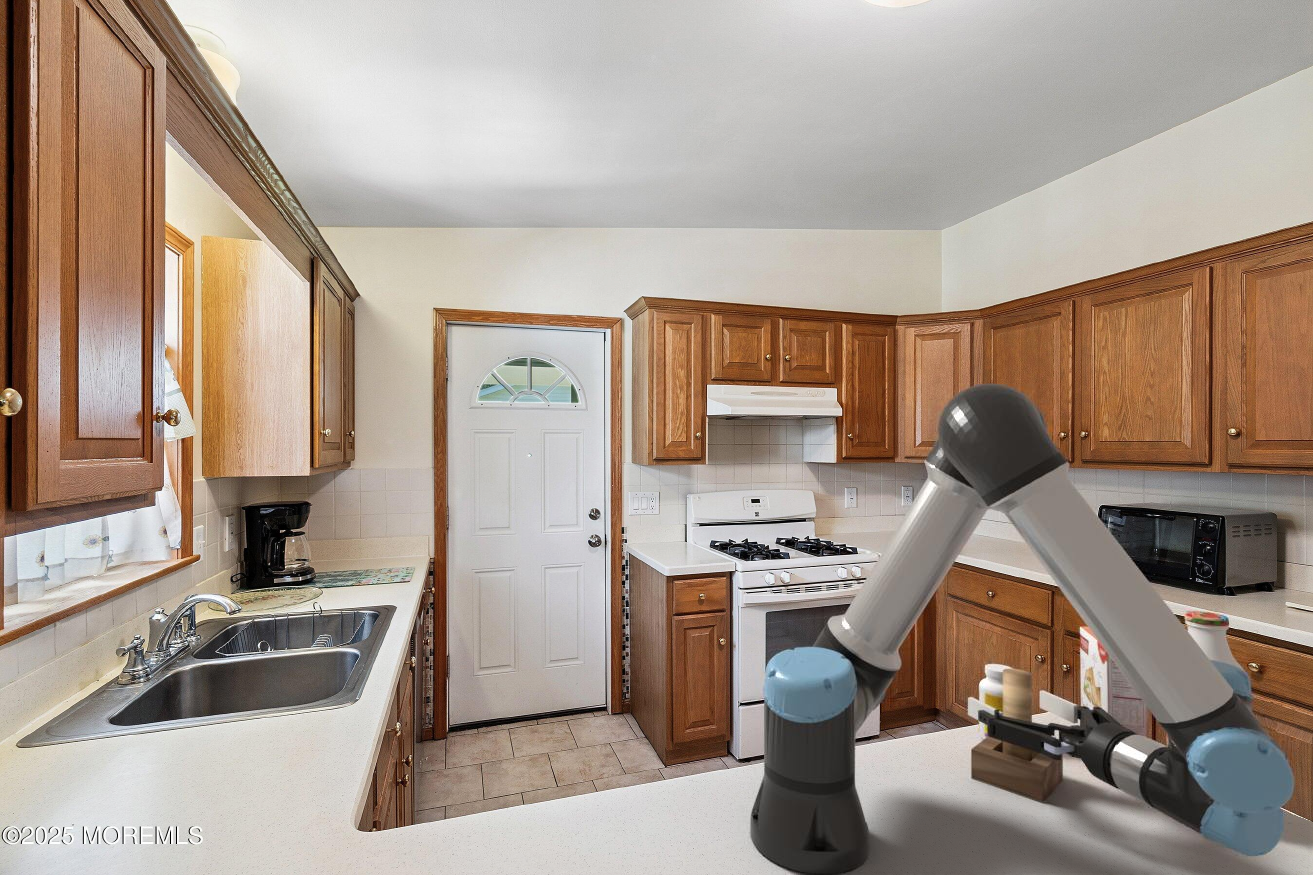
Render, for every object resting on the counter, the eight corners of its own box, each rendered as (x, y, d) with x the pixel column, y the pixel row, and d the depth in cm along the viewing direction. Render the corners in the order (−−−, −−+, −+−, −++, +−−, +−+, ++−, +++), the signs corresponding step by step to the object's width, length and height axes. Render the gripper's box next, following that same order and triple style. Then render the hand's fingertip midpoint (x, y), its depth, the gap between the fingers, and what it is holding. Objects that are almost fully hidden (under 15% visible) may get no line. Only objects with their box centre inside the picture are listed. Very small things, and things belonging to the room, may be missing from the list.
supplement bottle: (1028, 749, 115) (1028, 674, 115) (989, 748, 115) (989, 673, 115) (1009, 733, 122) (1009, 662, 122) (972, 732, 122) (972, 661, 122)
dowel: (1027, 784, 101) (1027, 678, 102) (999, 775, 104) (999, 672, 105) (1035, 776, 104) (1035, 672, 105) (1007, 767, 107) (1007, 666, 107)
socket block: (1042, 802, 97) (1042, 771, 97) (971, 778, 104) (971, 748, 104) (1062, 779, 104) (1062, 750, 104) (994, 758, 111) (994, 731, 111)
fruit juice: (1260, 837, 89) (1258, 626, 89) (1171, 817, 94) (1170, 616, 94) (1243, 806, 97) (1241, 612, 97) (1162, 788, 102) (1161, 604, 102)
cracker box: (1078, 744, 117) (1078, 624, 118) (1118, 749, 115) (1118, 627, 116) (1105, 781, 104) (1104, 646, 104) (1151, 788, 102) (1150, 650, 102)
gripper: (1050, 803, 83) (938, 733, 103) (1204, 781, 89) (1070, 719, 110) (1050, 742, 83) (938, 684, 104) (1204, 724, 89) (1070, 673, 110)
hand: (1006, 702), depth 107 cm, fingers open, 13 cm apart
